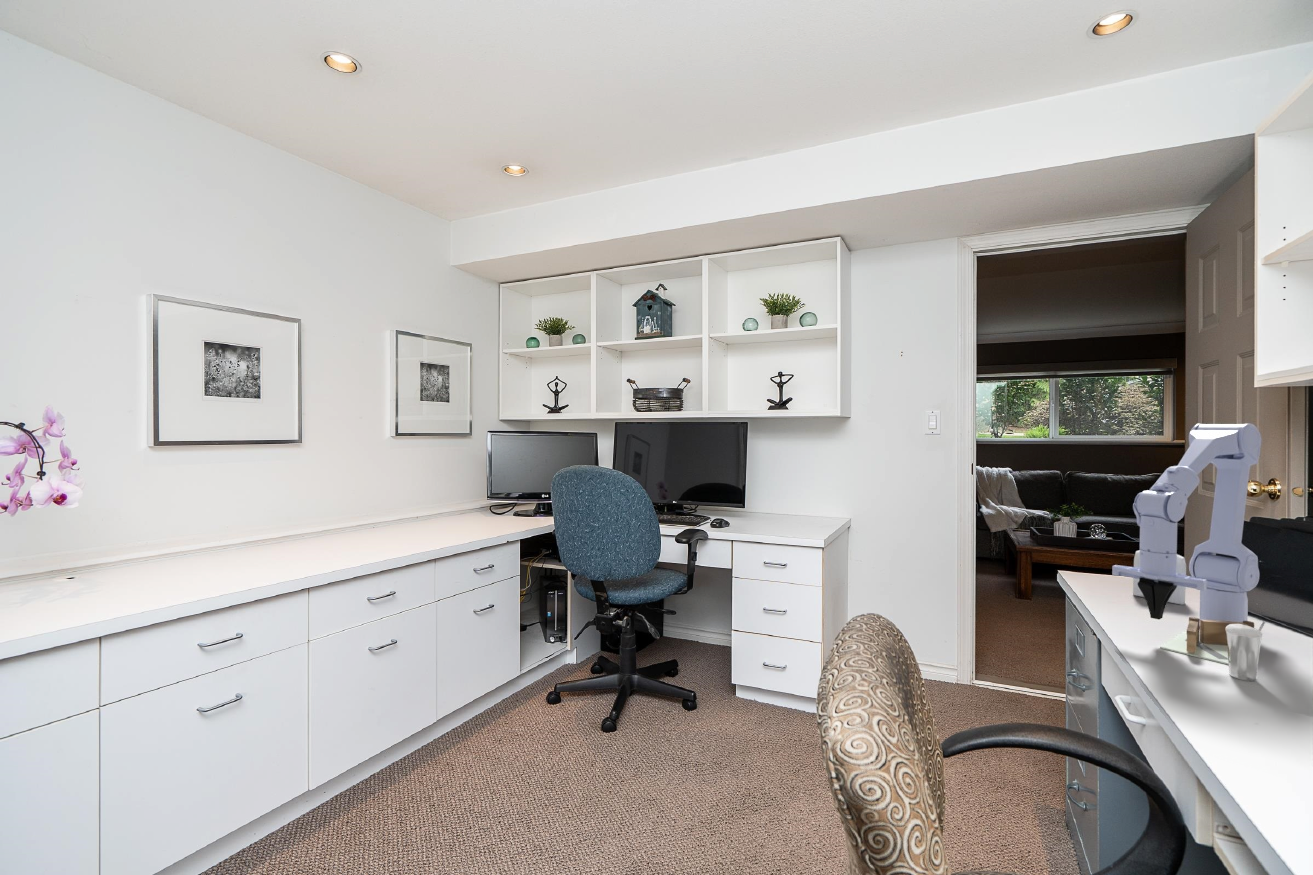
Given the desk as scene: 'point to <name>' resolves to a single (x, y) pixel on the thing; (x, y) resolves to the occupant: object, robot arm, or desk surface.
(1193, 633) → the fence wing
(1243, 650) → the milkshake
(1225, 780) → the desk surface
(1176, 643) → the card
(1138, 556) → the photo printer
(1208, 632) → the fence fixed
